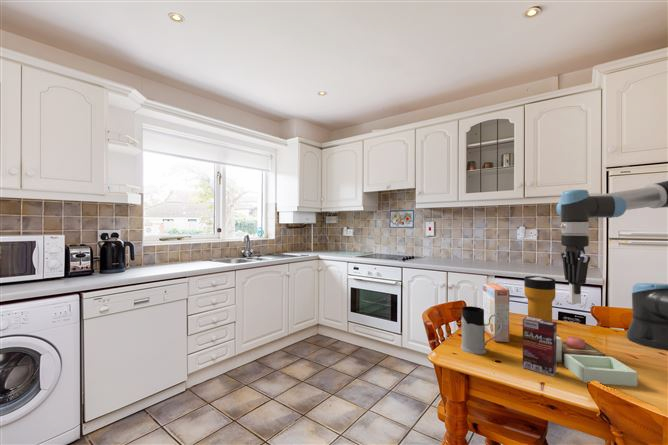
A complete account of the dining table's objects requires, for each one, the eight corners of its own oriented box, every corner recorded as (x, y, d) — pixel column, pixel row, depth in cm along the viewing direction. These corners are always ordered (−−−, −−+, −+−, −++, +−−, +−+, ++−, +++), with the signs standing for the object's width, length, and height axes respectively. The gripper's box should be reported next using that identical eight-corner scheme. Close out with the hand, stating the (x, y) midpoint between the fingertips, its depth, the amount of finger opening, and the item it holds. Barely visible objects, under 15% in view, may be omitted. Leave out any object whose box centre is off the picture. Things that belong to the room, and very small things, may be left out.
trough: (611, 369, 98) (611, 356, 98) (637, 386, 88) (637, 372, 88) (564, 366, 101) (564, 353, 101) (583, 382, 91) (583, 368, 91)
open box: (551, 354, 110) (550, 331, 110) (561, 362, 103) (561, 339, 103) (529, 352, 111) (529, 330, 111) (538, 361, 104) (538, 337, 104)
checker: (586, 353, 110) (586, 341, 110) (605, 366, 100) (605, 353, 100) (549, 351, 112) (548, 339, 112) (564, 363, 103) (564, 350, 103)
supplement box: (522, 367, 100) (521, 319, 100) (526, 363, 103) (525, 315, 103) (554, 377, 94) (553, 325, 94) (557, 371, 97) (557, 321, 97)
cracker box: (510, 343, 120) (510, 289, 120) (494, 342, 121) (493, 289, 121) (497, 330, 134) (497, 282, 134) (482, 330, 135) (482, 282, 135)
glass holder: (460, 343, 121) (460, 305, 121) (501, 348, 115) (501, 308, 115) (460, 351, 113) (460, 310, 113) (504, 358, 107) (504, 315, 107)
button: (579, 344, 108) (579, 337, 108) (588, 350, 103) (588, 342, 103) (563, 343, 109) (563, 336, 109) (571, 349, 104) (571, 341, 104)
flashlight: (520, 274, 125) (547, 275, 123) (520, 338, 125) (548, 340, 123) (530, 279, 115) (560, 280, 113) (531, 348, 115) (561, 350, 113)
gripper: (552, 234, 114) (553, 297, 114) (573, 235, 101) (573, 307, 101) (575, 234, 112) (576, 298, 112) (599, 235, 99) (600, 308, 99)
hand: (575, 302), depth 106 cm, fingers closed
